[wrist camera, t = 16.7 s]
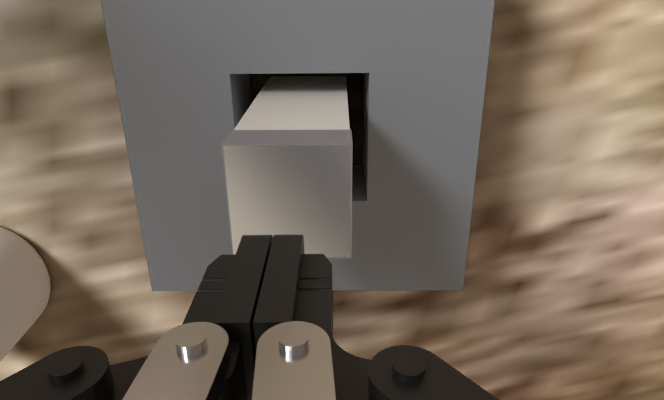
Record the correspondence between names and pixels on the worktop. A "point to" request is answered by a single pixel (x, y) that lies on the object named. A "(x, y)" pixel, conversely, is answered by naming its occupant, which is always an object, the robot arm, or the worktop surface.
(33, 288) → the milk bottle
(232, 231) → the plug
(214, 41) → the socket block
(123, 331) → the worktop surface
